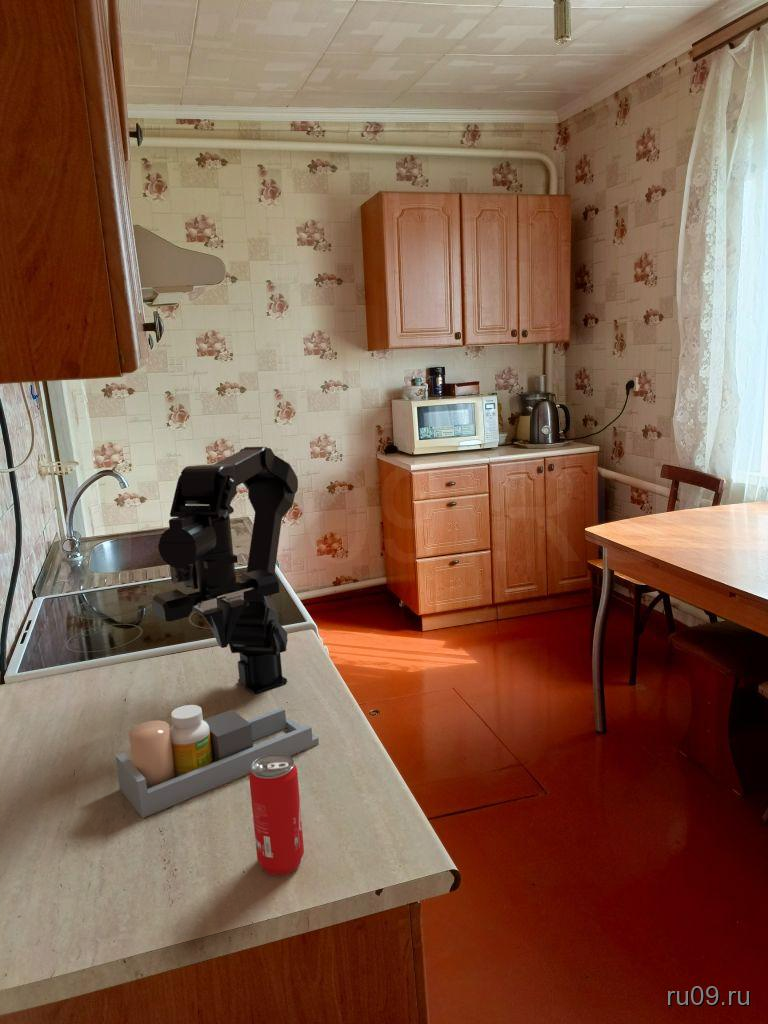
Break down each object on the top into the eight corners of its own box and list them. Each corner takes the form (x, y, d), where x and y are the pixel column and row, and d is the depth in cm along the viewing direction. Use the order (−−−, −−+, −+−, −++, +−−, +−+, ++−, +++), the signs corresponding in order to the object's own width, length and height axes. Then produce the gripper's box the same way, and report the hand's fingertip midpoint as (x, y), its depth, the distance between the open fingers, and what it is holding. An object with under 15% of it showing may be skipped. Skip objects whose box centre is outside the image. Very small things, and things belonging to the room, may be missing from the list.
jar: (163, 777, 101) (155, 716, 99) (184, 790, 98) (176, 727, 96) (129, 794, 97) (121, 732, 95) (150, 808, 94) (142, 743, 92)
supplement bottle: (203, 790, 97) (195, 722, 95) (166, 786, 98) (157, 720, 96) (220, 767, 102) (213, 703, 100) (185, 765, 104) (177, 701, 102)
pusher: (235, 747, 107) (232, 709, 106) (254, 763, 103) (251, 724, 101) (203, 760, 104) (199, 721, 103) (221, 777, 100) (217, 736, 98)
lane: (288, 723, 114) (286, 693, 113) (318, 744, 107) (316, 712, 106) (120, 788, 99) (115, 754, 97) (142, 818, 92) (137, 782, 91)
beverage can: (259, 849, 85) (250, 754, 82) (305, 844, 85) (297, 750, 83) (256, 880, 80) (245, 780, 77) (304, 875, 80) (295, 776, 78)
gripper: (244, 529, 122) (253, 618, 126) (132, 551, 111) (145, 649, 115) (278, 540, 114) (286, 636, 117) (160, 566, 103) (173, 670, 106)
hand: (223, 646), depth 114 cm, fingers closed
